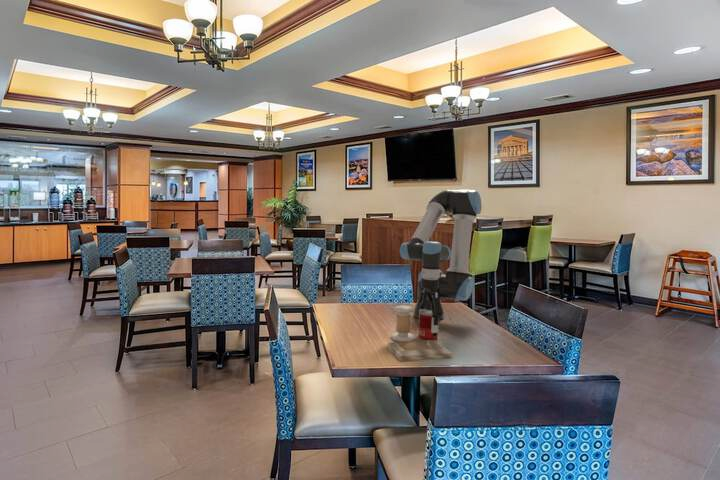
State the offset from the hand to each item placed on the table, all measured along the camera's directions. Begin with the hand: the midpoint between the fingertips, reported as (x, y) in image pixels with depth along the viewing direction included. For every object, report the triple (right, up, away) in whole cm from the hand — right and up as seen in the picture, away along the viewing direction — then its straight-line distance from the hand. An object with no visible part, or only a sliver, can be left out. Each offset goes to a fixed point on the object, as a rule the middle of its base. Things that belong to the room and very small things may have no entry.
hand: (428, 328), depth 189 cm
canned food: (0, -4, +1) cm, 4 cm away
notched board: (-6, -6, -18) cm, 20 cm away
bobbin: (-11, -4, -1) cm, 12 cm away
